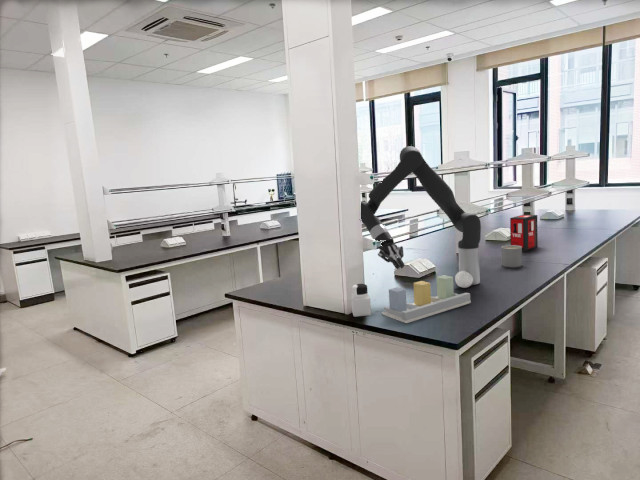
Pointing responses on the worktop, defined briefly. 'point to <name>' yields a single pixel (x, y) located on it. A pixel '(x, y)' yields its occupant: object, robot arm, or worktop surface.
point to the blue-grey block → (397, 299)
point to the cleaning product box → (524, 231)
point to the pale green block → (445, 287)
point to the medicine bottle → (360, 300)
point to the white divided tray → (428, 308)
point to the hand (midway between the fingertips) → (400, 267)
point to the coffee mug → (511, 256)
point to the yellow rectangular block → (422, 293)
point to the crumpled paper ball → (463, 279)
